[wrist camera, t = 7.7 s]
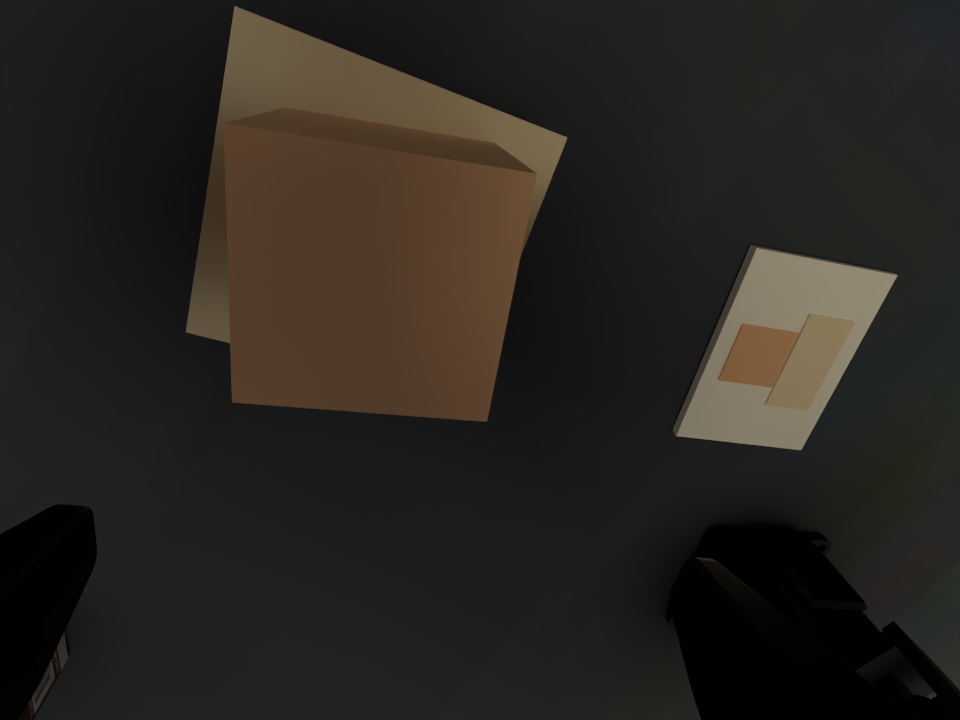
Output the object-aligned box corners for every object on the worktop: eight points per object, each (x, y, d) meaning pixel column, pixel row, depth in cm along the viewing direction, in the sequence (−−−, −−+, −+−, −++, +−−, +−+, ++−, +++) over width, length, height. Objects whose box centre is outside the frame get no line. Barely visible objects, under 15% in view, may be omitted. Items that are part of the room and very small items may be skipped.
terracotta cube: (463, 326, 16) (487, 422, 12) (282, 307, 15) (232, 402, 11) (494, 142, 14) (537, 174, 9) (285, 107, 13) (223, 123, 9)
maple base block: (453, 345, 21) (463, 400, 17) (227, 283, 19) (185, 332, 15) (534, 125, 18) (567, 137, 14) (273, 22, 16) (234, 6, 12)
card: (795, 444, 24) (802, 451, 24) (672, 430, 23) (677, 437, 23) (889, 272, 21) (899, 276, 21) (750, 244, 20) (758, 248, 19)
